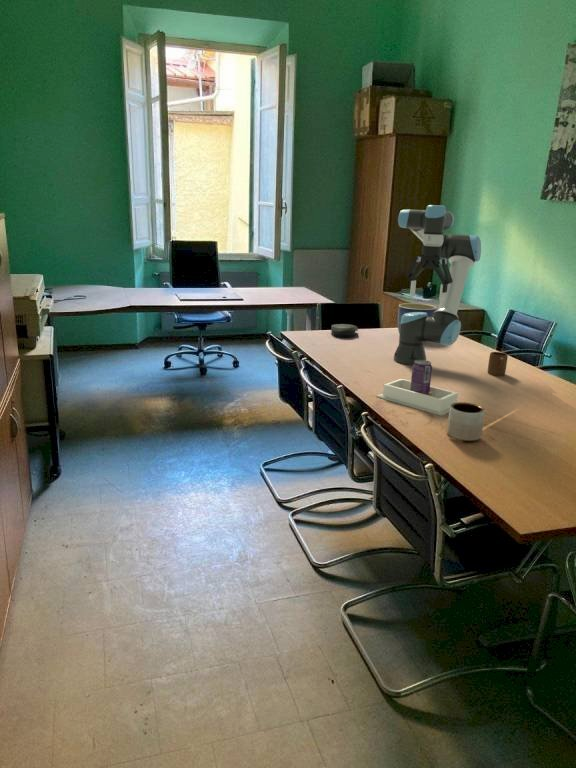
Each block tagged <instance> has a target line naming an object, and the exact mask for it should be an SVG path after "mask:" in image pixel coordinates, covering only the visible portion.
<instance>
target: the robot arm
mask: <svg viewBox="0 0 576 768" xmlns="http://www.w3.org/2000/svg"><path fill="white" fill-rule="evenodd" d="M397 224H398V226H399V228H403V229H409V230H410V231H411V232H412V233H413V234H414V235H415V236H416V237H417V238H418V239H419V240H420V241H421V242H422V244H423V245H422V248H421V256H414V259H413V262H412V264H411V266H410V268H409V269H408V271H407V273H406V275H405V279H407V280H409V283H408V288H409V289H410V290H409V298H410V297H412V298H413V297H416V286H417V280H416V278H417V277H419V275H420V274H421V273H422V272H423V271H424V270H428V269H429V270H433V271H434V272H435V273H436V275H437V276H438V278H439V279H440V281H441V284H440V288H439V289H440V290H439V298H438V302H439V305H438V308H437V310H436V311H435V312H434V313H433V317H428V316H427V313H425V312H412V313H406V314H403V315H402V318H401V323H400V334H399V337H398V338H399V339H398V345H397V347H396V350H395V352H394V354H393V362H396V363H397V364H402V365H410V366H413V364H414V361H416V360H426V361H427V355H426V349H425V342H426V343H431V344H438V345H441V346H443V345H444V346H445V345H447V346H451V345H454V343H456V341H457V340H458V338H459V336H460V334H461V328H462V323H461V321H460V318H459V316H458V311H459V307H460V304H461V300H462V295H463V293H464V288H465V286H466V281H467V278H468V274H469V272H470V271H469V270H470V269H471V268H473V267H474V266H475V263H476V262H479V261H480V260H481V256H482V255H481V253H482V241H481V238H480V236H478V235H474V234H456V233H455V234H454V233H444V231H445V230H448V229H451V228H452V227H453V225H454V224H455V216H454V214H453V213H452V212H451V211H449V210H446V206H445V205H443V204H442V205H441V204H439V205H435V204H429V205H427V206H426V209H410V208H409V209H402V210H400V212H399V214H398V217H397ZM448 262H449V265H450V266H449V265H448ZM419 263H421V264H419ZM440 264H441V266H440ZM417 267H418V268H417ZM442 270H443V271H442Z"/></svg>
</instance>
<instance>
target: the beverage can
mask: <svg viewBox="0 0 576 768" xmlns="http://www.w3.org/2000/svg"><path fill="white" fill-rule="evenodd" d="M432 371H433V366H432V362H431V361H429V360H427V359H426V360H416V361H414V364H413V365H412V371H411V378H410V379H411V380H410V381H411V387H410V391H414V392H417V393H421V394H427V393H429V391H430V386H431V381H432Z"/></svg>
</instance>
